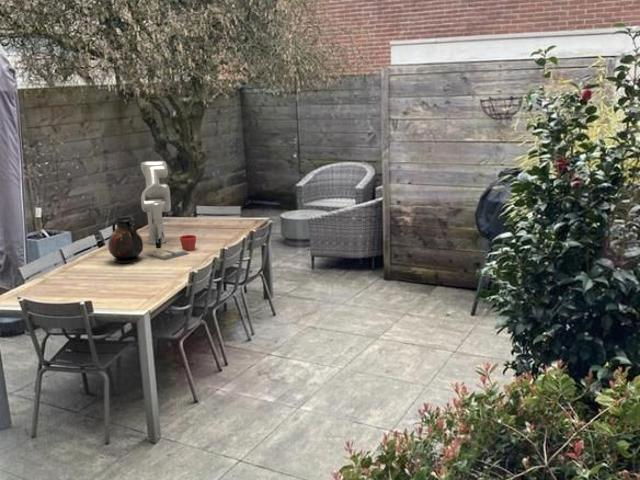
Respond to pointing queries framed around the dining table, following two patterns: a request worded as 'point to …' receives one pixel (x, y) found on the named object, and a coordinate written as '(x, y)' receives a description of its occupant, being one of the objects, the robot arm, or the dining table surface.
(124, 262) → the amphora vase
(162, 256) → the tile
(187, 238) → the flower pot
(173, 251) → the tile
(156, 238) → the robot arm
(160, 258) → the mat
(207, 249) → the dining table surface
